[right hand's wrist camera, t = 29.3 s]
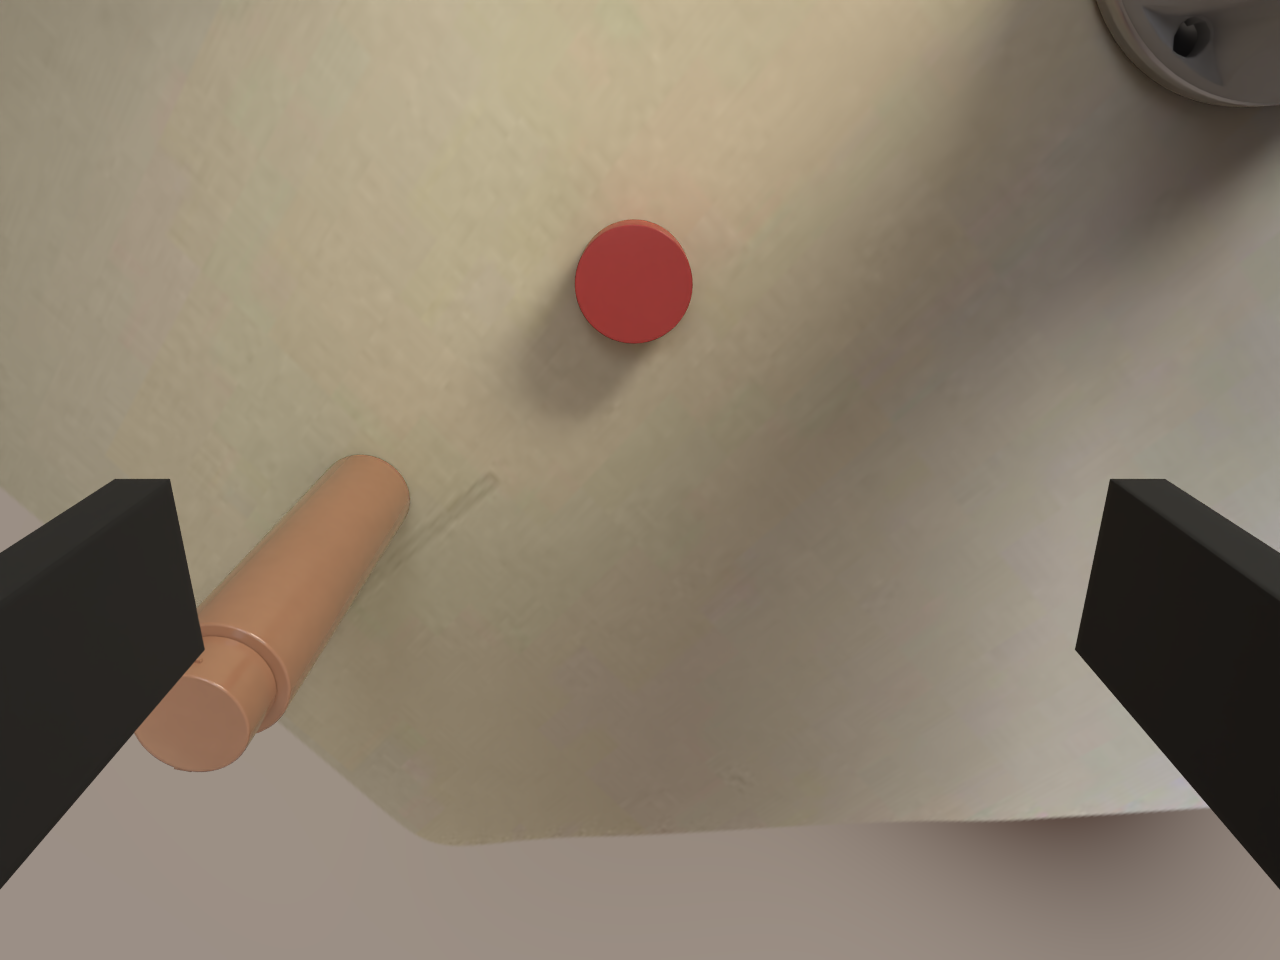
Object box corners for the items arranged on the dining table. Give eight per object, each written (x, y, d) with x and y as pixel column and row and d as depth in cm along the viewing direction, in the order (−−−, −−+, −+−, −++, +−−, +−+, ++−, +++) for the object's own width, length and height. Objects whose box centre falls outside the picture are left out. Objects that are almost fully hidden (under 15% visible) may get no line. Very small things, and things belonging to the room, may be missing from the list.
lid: (615, 351, 40) (613, 364, 38) (557, 257, 39) (552, 264, 36) (709, 296, 39) (713, 306, 37) (654, 197, 38) (654, 201, 36)
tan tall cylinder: (330, 442, 42) (124, 645, 25) (419, 469, 42) (274, 686, 26) (313, 521, 43) (107, 762, 27) (399, 546, 44) (249, 798, 27)
